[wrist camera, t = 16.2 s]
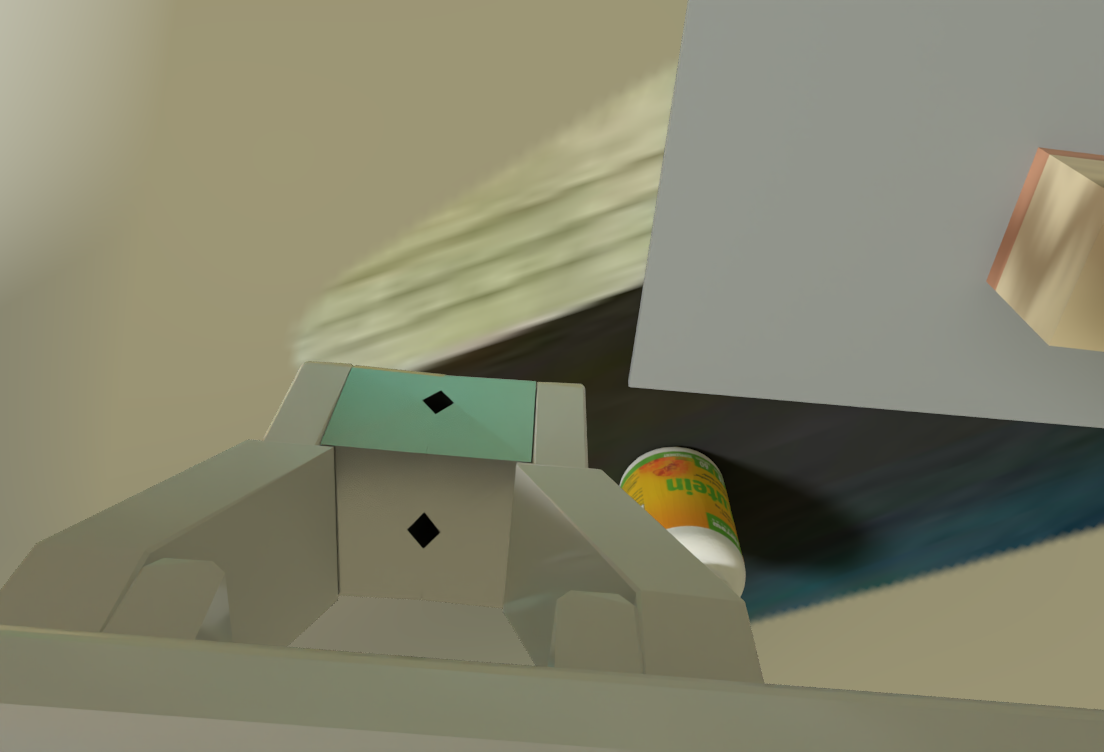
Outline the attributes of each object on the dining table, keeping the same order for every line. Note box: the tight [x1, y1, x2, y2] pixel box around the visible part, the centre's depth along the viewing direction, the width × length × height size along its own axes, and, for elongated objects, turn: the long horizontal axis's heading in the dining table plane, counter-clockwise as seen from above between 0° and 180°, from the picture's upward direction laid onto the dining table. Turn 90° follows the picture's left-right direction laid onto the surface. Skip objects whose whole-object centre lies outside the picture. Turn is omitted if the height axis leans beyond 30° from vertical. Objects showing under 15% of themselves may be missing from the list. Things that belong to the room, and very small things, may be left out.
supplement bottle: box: [620, 447, 746, 597], centre depth 42 cm, size 5×5×10 cm
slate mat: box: [628, 0, 1104, 428], centre depth 39 cm, size 20×24×1 cm
